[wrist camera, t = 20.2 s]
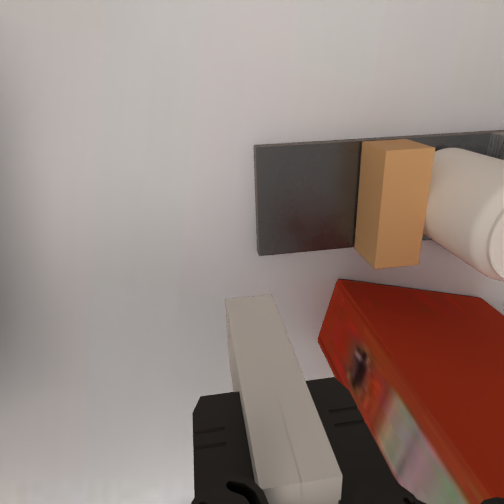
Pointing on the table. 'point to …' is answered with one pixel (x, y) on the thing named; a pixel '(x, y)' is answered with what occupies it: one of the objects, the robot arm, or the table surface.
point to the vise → (327, 188)
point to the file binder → (424, 384)
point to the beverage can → (468, 208)
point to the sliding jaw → (392, 201)
